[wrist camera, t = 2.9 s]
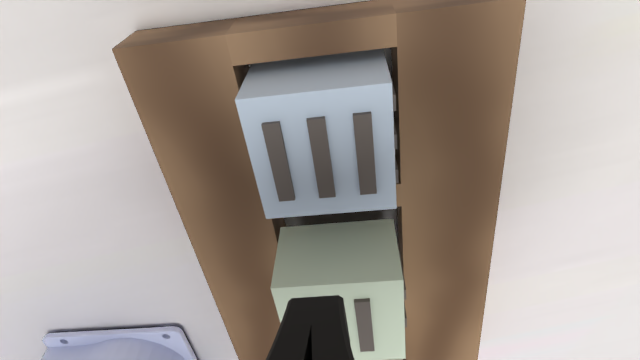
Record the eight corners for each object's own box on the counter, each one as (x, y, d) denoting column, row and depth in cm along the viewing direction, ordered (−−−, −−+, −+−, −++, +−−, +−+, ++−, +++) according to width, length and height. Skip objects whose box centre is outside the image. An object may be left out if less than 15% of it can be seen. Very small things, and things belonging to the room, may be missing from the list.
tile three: (276, 168, 19) (265, 221, 16) (252, 61, 17) (233, 101, 14) (391, 158, 19) (401, 211, 16) (386, 45, 16) (397, 83, 13)
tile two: (298, 300, 22) (291, 367, 19) (280, 227, 19) (270, 291, 16) (399, 294, 21) (409, 361, 18) (397, 218, 19) (408, 283, 16)
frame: (255, 356, 29) (250, 387, 27) (136, 30, 17) (111, 49, 15) (465, 346, 28) (474, 379, 26) (504, -17, 15) (526, -3, 14)
